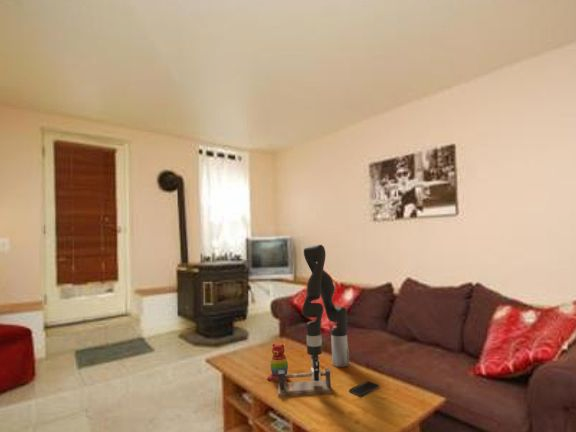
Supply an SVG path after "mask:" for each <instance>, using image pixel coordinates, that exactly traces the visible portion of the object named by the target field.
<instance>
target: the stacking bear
mask: <svg viewBox="0 0 576 432" xmlns="http://www.w3.org/2000/svg"><path fill="white" fill-rule="evenodd" d="M271 353H272V356H271V359H270V371H271V374H269V375H268V376H267V378H266V379H267V381H269V380H276V381H275V382H278V381H279V377H278V371H279V370H284V373H285V375H287V374H288V368H289V363H288V360H287V357H286V354H285V345H284V344H283V343H282V344H280V343H276V344H275V343H274V344H272V348H271ZM288 379H289V378H285V381H286V382H287V381H288Z"/></svg>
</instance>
